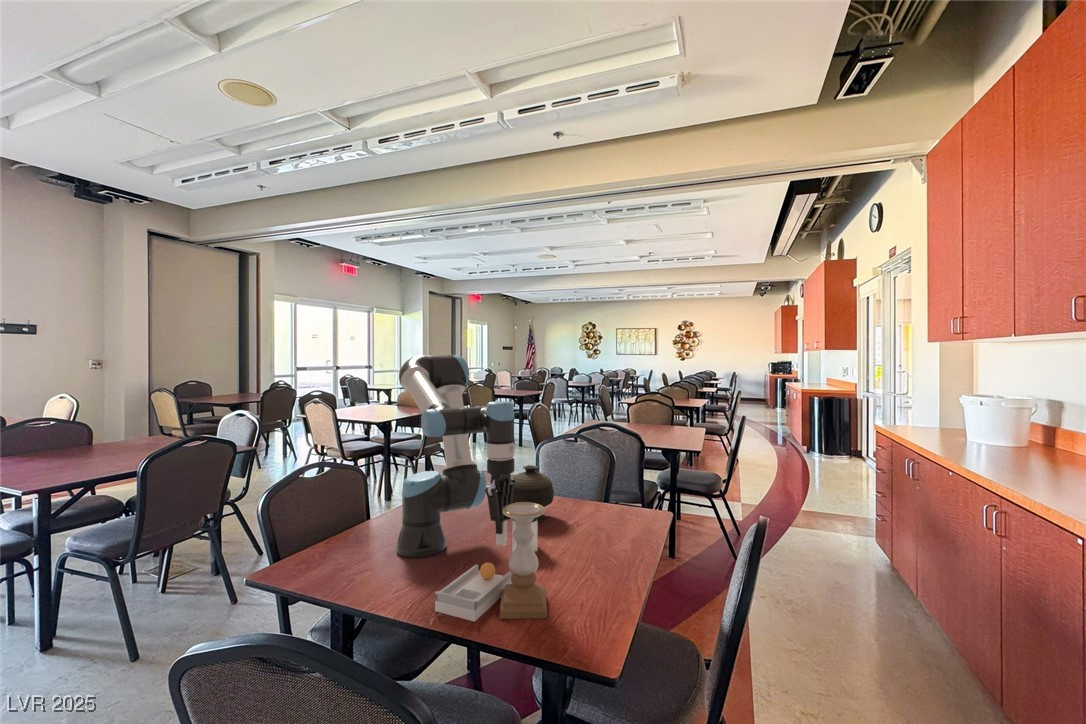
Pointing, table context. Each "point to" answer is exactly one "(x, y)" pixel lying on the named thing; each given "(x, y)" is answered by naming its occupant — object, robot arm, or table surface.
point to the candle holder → (523, 568)
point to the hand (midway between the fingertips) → (501, 544)
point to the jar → (534, 540)
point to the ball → (487, 570)
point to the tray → (470, 594)
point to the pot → (533, 488)
